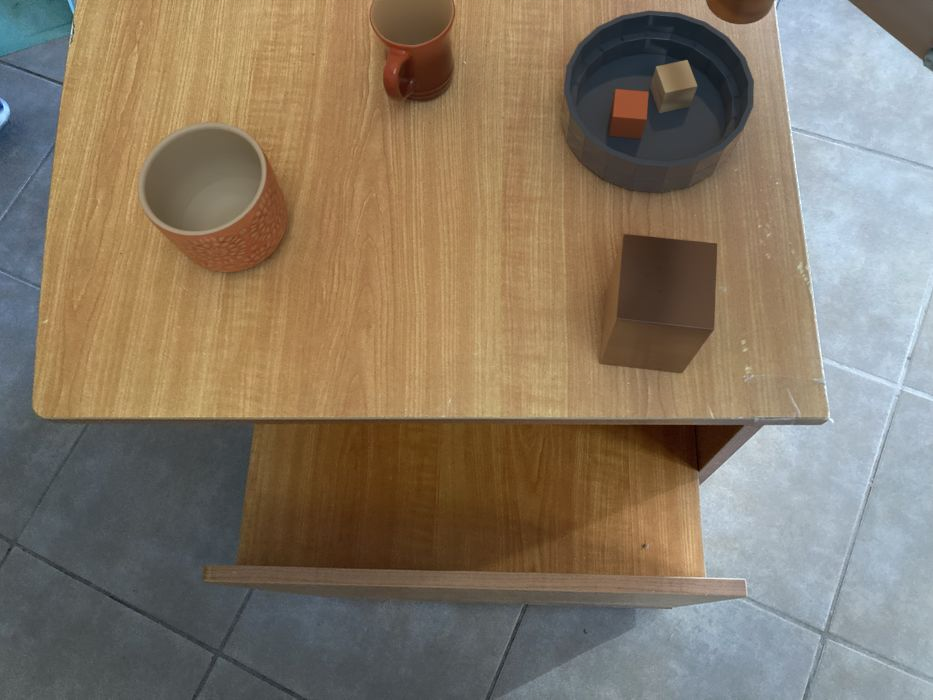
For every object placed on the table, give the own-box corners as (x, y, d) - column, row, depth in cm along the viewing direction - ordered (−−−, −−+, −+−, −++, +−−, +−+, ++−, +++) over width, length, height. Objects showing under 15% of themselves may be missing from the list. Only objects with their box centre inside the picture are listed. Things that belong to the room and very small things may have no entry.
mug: (399, 39, 89) (387, -31, 79) (471, 57, 88) (466, -12, 78) (362, 123, 86) (344, 60, 76) (435, 143, 84) (427, 81, 75)
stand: (686, 298, 77) (717, 243, 66) (682, 373, 74) (714, 329, 63) (605, 289, 78) (623, 233, 66) (599, 363, 75) (616, 318, 64)
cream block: (680, 81, 85) (687, 59, 81) (690, 107, 84) (697, 86, 80) (649, 87, 85) (655, 66, 81) (658, 113, 83) (665, 92, 80)
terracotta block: (643, 112, 84) (648, 91, 80) (641, 139, 82) (646, 119, 79) (610, 109, 84) (615, 88, 81) (608, 136, 83) (612, 116, 79)
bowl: (740, 54, 86) (755, 18, 81) (735, 203, 80) (751, 174, 75) (569, 40, 88) (573, 4, 83) (552, 185, 82) (555, 156, 77)
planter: (172, 282, 80) (123, 233, 70) (194, 179, 84) (150, 118, 74) (288, 288, 79) (256, 239, 69) (305, 183, 83) (276, 122, 73)
